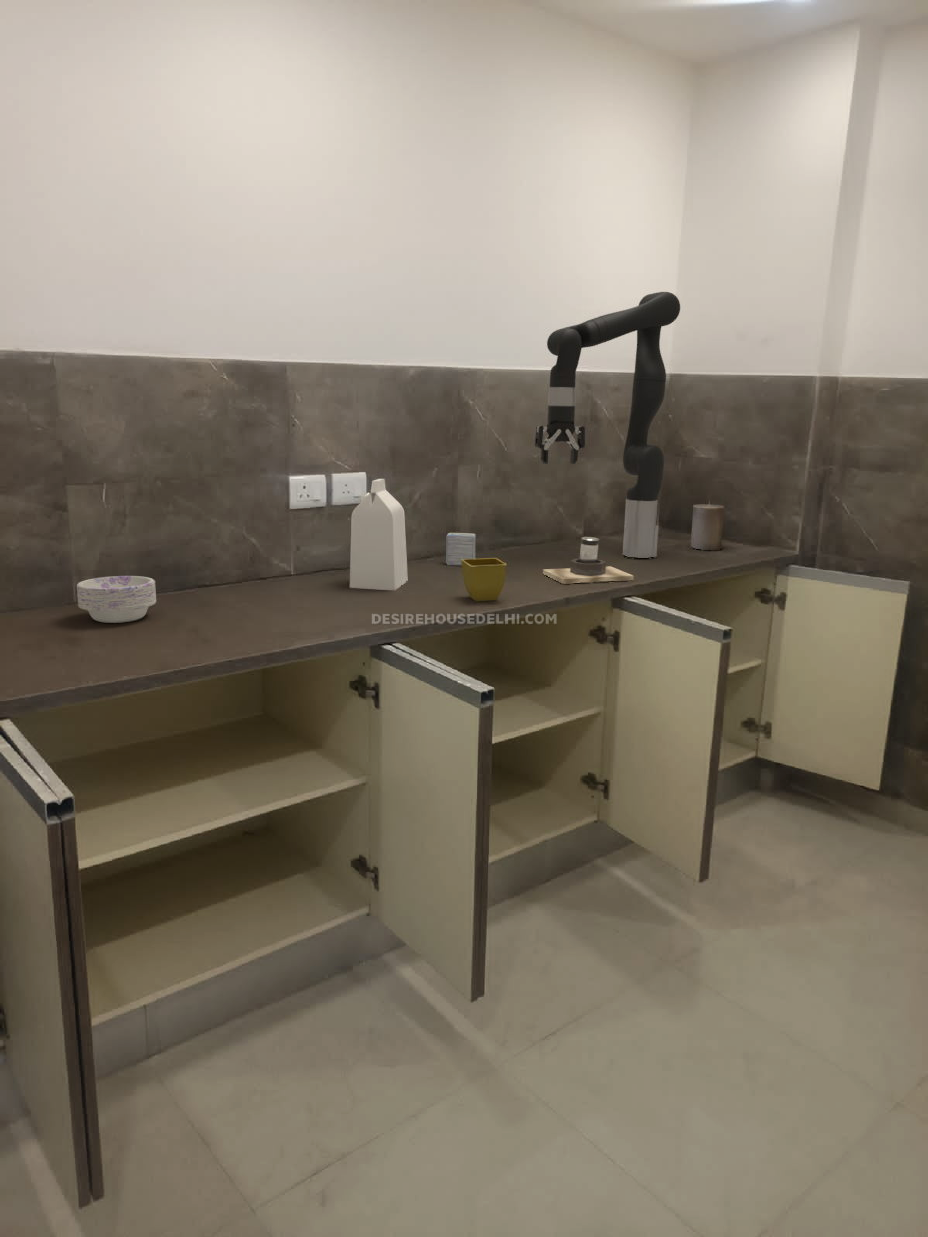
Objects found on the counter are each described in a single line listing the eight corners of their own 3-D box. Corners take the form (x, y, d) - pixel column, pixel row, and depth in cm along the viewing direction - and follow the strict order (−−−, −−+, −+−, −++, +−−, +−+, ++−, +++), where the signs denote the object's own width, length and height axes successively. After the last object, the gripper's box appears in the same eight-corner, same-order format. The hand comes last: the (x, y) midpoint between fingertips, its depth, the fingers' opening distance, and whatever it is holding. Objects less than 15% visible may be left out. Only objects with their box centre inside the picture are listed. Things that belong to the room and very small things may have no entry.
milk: (394, 590, 215) (394, 483, 208) (349, 587, 217) (348, 481, 210) (407, 580, 226) (407, 478, 220) (364, 578, 228) (363, 476, 222)
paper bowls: (132, 606, 195) (129, 570, 193) (171, 617, 185) (169, 580, 183) (65, 618, 183) (61, 581, 181) (103, 631, 174) (100, 592, 172)
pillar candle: (725, 548, 284) (728, 501, 281) (716, 552, 276) (719, 504, 272) (695, 545, 289) (698, 499, 286) (685, 549, 281) (689, 502, 278)
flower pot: (469, 604, 202) (470, 565, 200) (459, 596, 210) (460, 558, 208) (506, 602, 204) (507, 564, 202) (495, 594, 212) (496, 557, 210)
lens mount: (610, 571, 242) (611, 555, 241) (633, 581, 230) (634, 564, 229) (542, 574, 236) (543, 558, 235) (562, 584, 224) (563, 567, 223)
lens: (590, 570, 236) (593, 536, 233) (599, 573, 232) (602, 539, 229) (575, 570, 234) (578, 537, 232) (583, 574, 230) (587, 540, 228)
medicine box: (475, 563, 251) (475, 533, 249) (473, 566, 247) (474, 535, 245) (447, 562, 252) (448, 532, 250) (445, 565, 247) (446, 534, 245)
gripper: (543, 404, 239) (540, 464, 243) (590, 404, 243) (587, 464, 247) (532, 403, 246) (530, 462, 250) (579, 404, 250) (576, 462, 254)
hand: (559, 463), depth 249 cm, fingers open, 8 cm apart
